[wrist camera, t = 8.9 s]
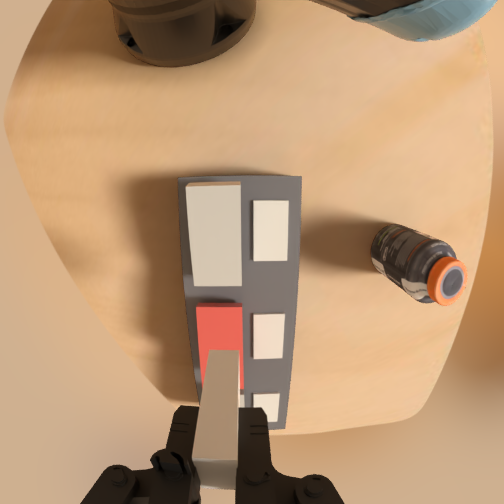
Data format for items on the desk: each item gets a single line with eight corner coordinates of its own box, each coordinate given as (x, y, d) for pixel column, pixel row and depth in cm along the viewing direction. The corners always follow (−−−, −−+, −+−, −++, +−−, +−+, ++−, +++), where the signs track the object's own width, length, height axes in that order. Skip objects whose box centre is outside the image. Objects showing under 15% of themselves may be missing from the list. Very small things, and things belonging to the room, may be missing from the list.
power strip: (189, 177, 27) (175, 177, 21) (291, 176, 27) (304, 176, 21) (207, 403, 34) (203, 434, 29) (280, 402, 35) (285, 433, 29)
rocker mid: (198, 302, 24) (196, 307, 23) (242, 302, 24) (242, 307, 23) (204, 381, 25) (202, 388, 24) (243, 381, 25) (243, 389, 24)
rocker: (189, 182, 20) (185, 186, 19) (240, 181, 20) (240, 185, 19) (196, 277, 24) (194, 286, 22) (241, 277, 24) (241, 286, 22)
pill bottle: (373, 280, 30) (425, 328, 19) (365, 231, 29) (424, 262, 18) (414, 264, 30) (474, 302, 19) (409, 217, 28) (475, 240, 17)
